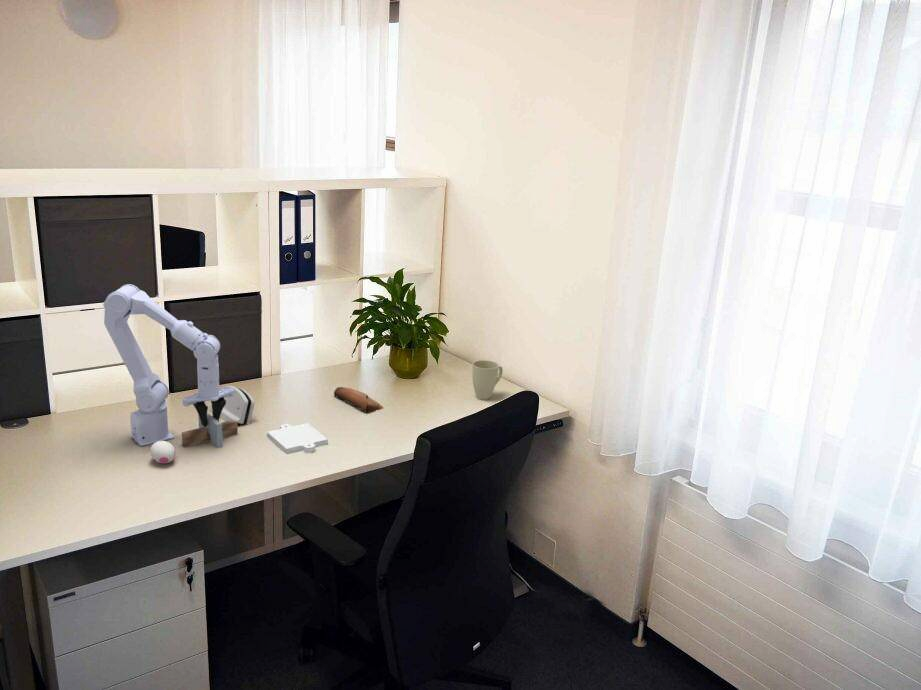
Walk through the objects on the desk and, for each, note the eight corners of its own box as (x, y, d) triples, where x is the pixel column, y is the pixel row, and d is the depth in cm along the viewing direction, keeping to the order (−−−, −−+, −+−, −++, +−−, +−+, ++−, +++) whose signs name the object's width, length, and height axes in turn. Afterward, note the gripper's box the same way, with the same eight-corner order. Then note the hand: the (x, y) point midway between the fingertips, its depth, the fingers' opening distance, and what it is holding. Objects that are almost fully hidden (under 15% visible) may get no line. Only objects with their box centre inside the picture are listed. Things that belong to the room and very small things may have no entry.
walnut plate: (184, 447, 217) (183, 434, 216) (182, 445, 218) (181, 432, 217) (237, 433, 228) (237, 421, 226) (235, 432, 229) (235, 419, 227)
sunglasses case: (386, 408, 253) (379, 393, 249) (371, 422, 250) (363, 408, 246) (353, 391, 265) (346, 377, 261) (339, 404, 262) (330, 391, 258)
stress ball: (176, 476, 208) (189, 454, 209) (150, 467, 202) (164, 445, 203) (165, 464, 213) (178, 443, 214) (140, 455, 208) (153, 433, 208)
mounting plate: (331, 448, 223) (332, 442, 223) (290, 458, 216) (290, 452, 215) (303, 426, 237) (303, 420, 236) (263, 434, 229) (263, 428, 229)
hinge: (208, 409, 243) (218, 379, 242) (222, 411, 246) (231, 381, 246) (235, 427, 231) (245, 396, 231) (248, 429, 235) (258, 397, 234)
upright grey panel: (217, 447, 218) (216, 424, 216) (199, 432, 227) (198, 410, 224) (222, 446, 219) (222, 423, 217) (204, 431, 227) (203, 409, 225)
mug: (497, 403, 263) (500, 370, 260) (468, 400, 265) (470, 367, 261) (500, 392, 274) (503, 360, 270) (473, 389, 275) (475, 357, 271)
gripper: (189, 388, 210) (191, 434, 214) (239, 378, 219) (240, 423, 223) (178, 381, 215) (180, 426, 219) (227, 371, 224) (228, 414, 228)
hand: (210, 424), depth 221 cm, fingers open, 3 cm apart
